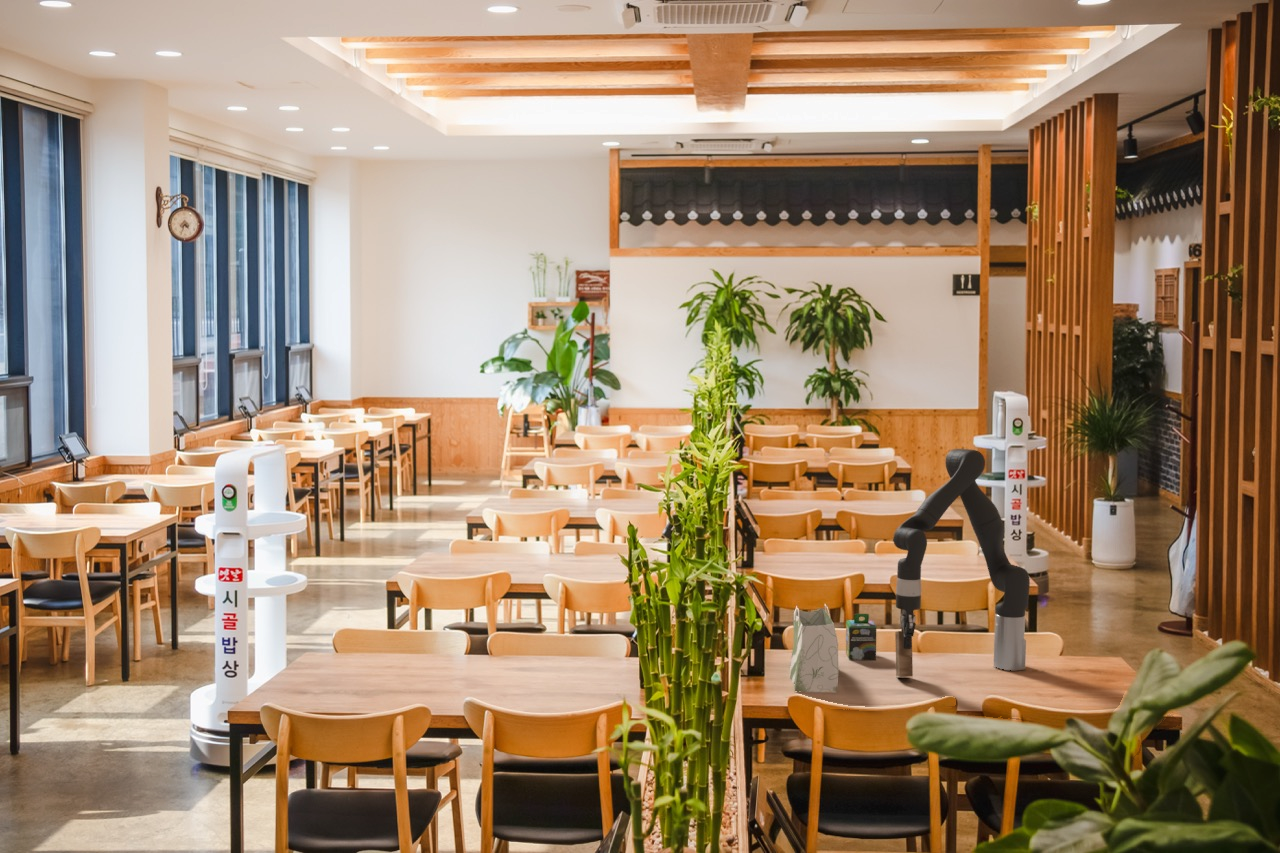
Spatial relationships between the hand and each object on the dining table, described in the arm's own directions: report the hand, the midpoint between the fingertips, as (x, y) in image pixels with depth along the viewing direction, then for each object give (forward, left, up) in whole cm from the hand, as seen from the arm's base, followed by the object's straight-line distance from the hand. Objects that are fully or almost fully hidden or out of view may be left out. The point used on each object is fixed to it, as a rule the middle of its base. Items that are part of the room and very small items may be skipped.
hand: (907, 648), depth 399 cm
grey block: (0, -3, -10) cm, 10 cm away
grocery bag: (+29, -4, -11) cm, 31 cm away
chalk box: (+10, -30, -11) cm, 33 cm away
